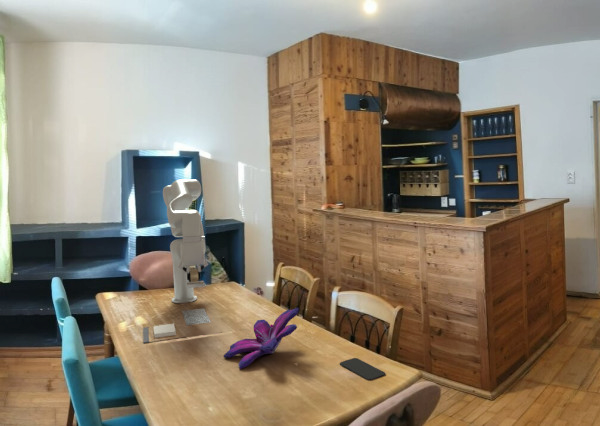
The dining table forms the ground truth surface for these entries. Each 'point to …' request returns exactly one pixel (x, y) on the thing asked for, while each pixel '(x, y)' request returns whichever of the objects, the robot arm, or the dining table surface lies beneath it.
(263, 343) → the decorative flower
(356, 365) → the phone
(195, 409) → the dining table surface
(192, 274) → the tan bar with plate
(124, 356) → the dining table surface
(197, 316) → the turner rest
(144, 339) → the mat
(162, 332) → the tile
